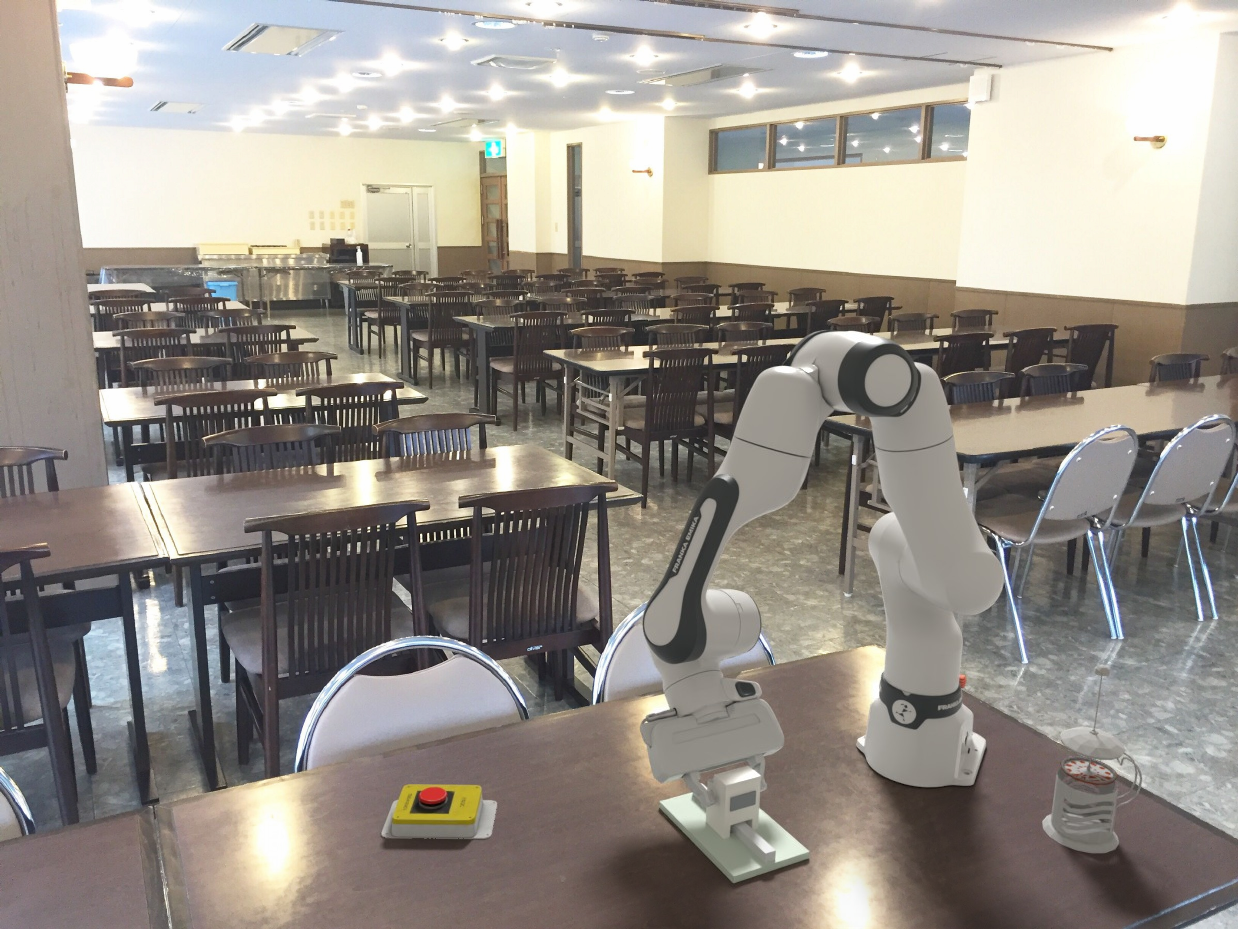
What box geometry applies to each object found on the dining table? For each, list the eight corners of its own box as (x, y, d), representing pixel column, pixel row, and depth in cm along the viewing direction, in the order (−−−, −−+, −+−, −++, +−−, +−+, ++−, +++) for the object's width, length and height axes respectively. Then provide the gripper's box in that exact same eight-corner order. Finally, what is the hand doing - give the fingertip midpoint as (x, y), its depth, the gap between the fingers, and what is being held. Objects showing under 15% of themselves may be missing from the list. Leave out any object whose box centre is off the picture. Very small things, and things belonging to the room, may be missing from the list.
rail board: (659, 807, 142) (659, 792, 141) (729, 788, 147) (730, 773, 146) (733, 883, 125) (734, 866, 125) (809, 858, 131) (810, 842, 130)
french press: (1033, 809, 143) (1053, 648, 137) (1118, 817, 141) (1142, 654, 136) (1053, 849, 134) (1075, 678, 128) (1144, 858, 132) (1170, 685, 126)
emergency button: (393, 775, 141) (498, 776, 142) (394, 803, 142) (498, 804, 143) (378, 812, 132) (490, 813, 133) (379, 841, 133) (491, 842, 134)
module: (705, 821, 137) (707, 769, 135) (739, 812, 139) (742, 760, 137) (724, 840, 133) (727, 786, 131) (758, 829, 135) (761, 776, 133)
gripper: (644, 709, 134) (678, 810, 127) (768, 681, 143) (806, 774, 136) (628, 725, 138) (660, 823, 132) (749, 696, 148) (785, 788, 141)
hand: (735, 798), depth 134 cm, fingers open, 7 cm apart
